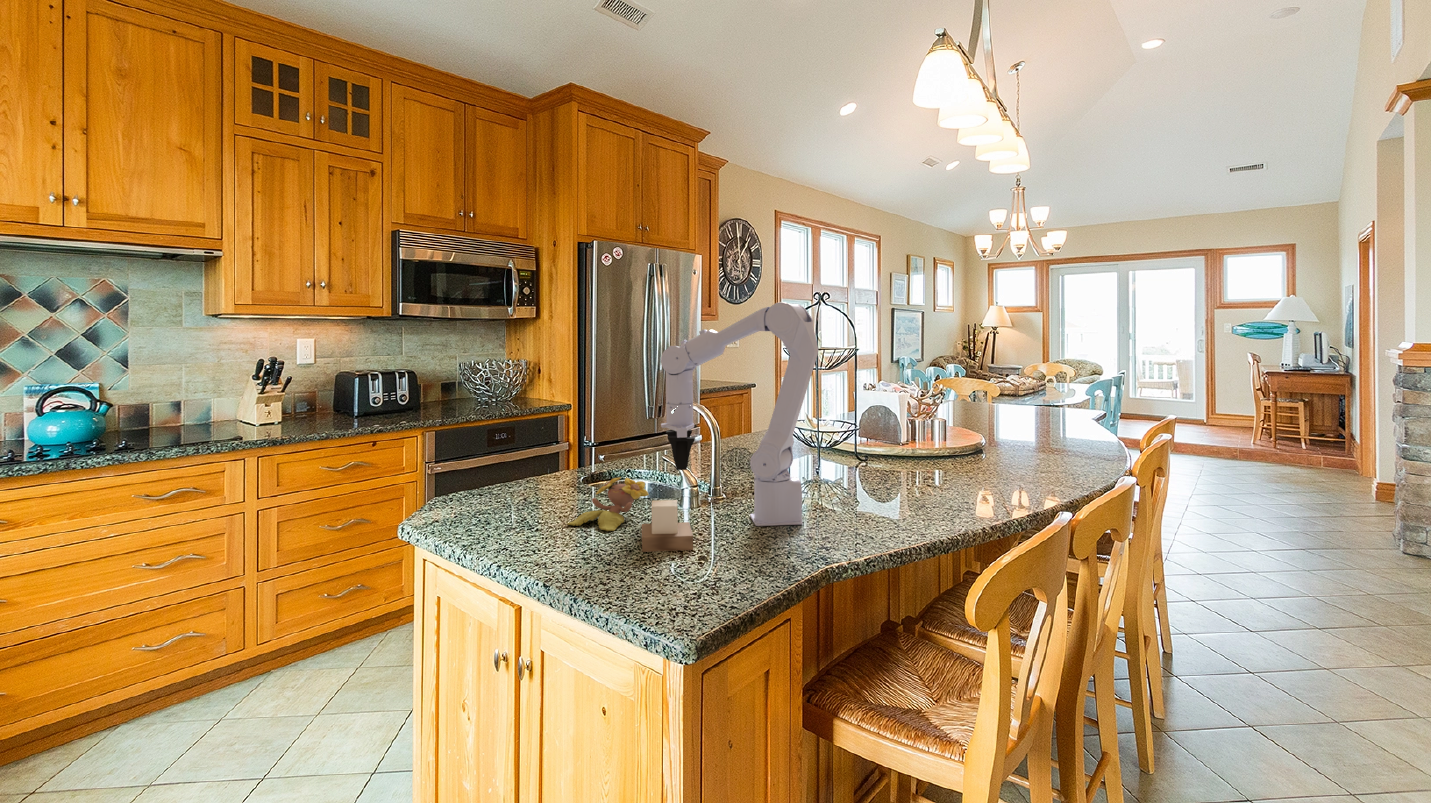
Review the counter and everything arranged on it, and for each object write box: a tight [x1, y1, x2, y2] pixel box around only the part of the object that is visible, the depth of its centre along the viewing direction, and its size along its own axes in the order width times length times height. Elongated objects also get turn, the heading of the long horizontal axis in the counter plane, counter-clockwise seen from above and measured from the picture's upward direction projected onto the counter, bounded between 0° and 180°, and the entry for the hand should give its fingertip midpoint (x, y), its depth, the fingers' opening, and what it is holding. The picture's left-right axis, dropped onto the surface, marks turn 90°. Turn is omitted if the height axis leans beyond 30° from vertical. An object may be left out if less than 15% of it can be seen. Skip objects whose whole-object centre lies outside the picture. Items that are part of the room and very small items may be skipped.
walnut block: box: [641, 521, 694, 553], centre depth 126 cm, size 9×9×3 cm
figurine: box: [566, 476, 650, 532], centre depth 142 cm, size 12×9×15 cm
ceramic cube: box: [651, 499, 679, 534], centre depth 125 cm, size 5×5×5 cm
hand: (680, 466), depth 147 cm, fingers open, 7 cm apart
